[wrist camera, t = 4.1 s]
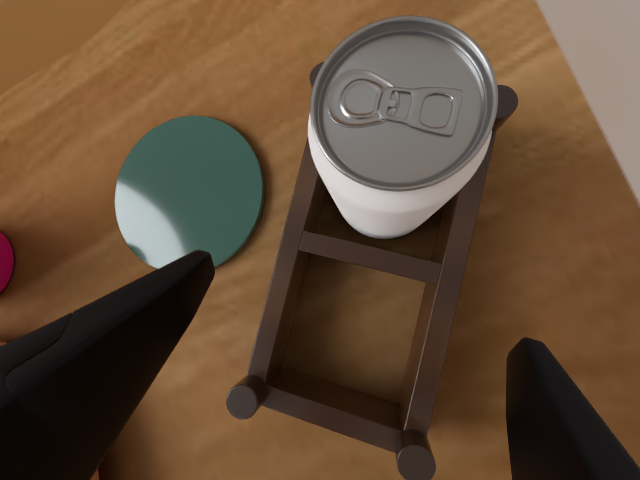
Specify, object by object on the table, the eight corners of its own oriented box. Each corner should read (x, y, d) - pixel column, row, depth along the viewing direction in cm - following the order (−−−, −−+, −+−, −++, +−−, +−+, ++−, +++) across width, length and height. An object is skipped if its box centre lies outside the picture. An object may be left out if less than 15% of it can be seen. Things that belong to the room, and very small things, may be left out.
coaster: (122, 281, 24) (116, 281, 23) (118, 132, 25) (112, 129, 25) (271, 265, 22) (269, 265, 22) (258, 106, 23) (255, 102, 23)
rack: (416, 434, 20) (431, 490, 15) (256, 380, 22) (221, 413, 17) (485, 130, 21) (522, 86, 16) (326, 104, 23) (314, 59, 18)
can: (349, 140, 22) (323, -8, 10) (443, 156, 21) (536, 11, 9) (327, 228, 22) (274, 181, 10) (421, 250, 21) (488, 226, 9)
